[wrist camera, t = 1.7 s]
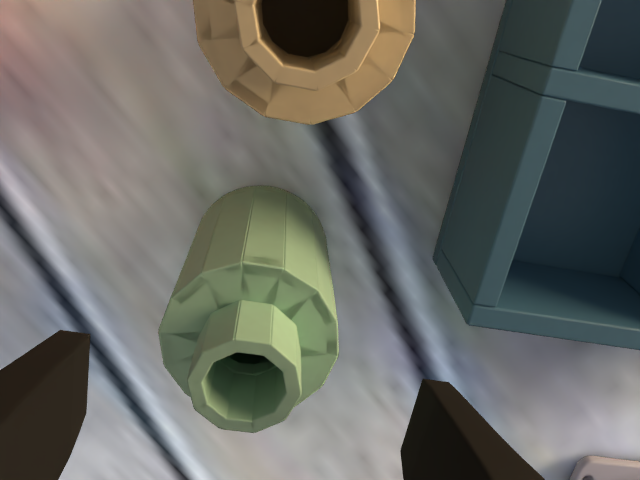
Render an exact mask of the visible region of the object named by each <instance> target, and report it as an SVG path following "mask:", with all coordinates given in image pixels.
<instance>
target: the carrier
mask: <svg viewBox="0 0 640 480" xmlns="http://www.w3.org/2000/svg"><path fill="white" fill-rule="evenodd" d="M433 261H434V263H435V265H437V268H438V270H439V272H440V274H441V276H442V278H443V280H444V282H445V283H446V285H447V287H448V289H449V291H450V293H451V295H452V297H453V299H454V301H455V303H456V304H457V306H458V308H459V310H460V312H461V314H462V316H463V318H464V320H465V322H466V324H468V325H471V326H478V327H485V328H492V329H498V330H505V331H512V332H519V333H526V334H533V335H540V336H546V337H553V338H560V339H567V340H574V341H581V342H588V343H595V344H601V345H608V346H615V347H622V348H629V349H636V350H640V0H506V3H505V7H504V10H503V14H502V17H501V21H500V24H499V28H498V31H497V35H496V38H495V42H494V45H493V49H492V52H491V56H490V59H489V63H488V66H487V70H486V73H485V77H484V80H483V84H482V87H481V90H480V94H479V97H478V101H477V104H476V108H475V111H474V115H473V118H472V122H471V125H470V129H469V132H468V136H467V139H466V143H465V146H464V150H463V153H462V157H461V160H460V164H459V167H458V171H457V174H456V178H455V181H454V185H453V188H452V192H451V195H450V199H449V202H448V206H447V209H446V213H445V216H444V220H443V223H442V227H441V230H440V234H439V237H438V241H437V244H436V248H435V251H434V255H433Z"/></svg>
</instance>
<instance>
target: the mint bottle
mask: <svg viewBox="0 0 640 480" xmlns="http://www.w3.org/2000/svg"><path fill="white" fill-rule="evenodd" d="M158 334H159V340H160V346H161V352H162V358H163V364H164V366H165V368H166V369H167V371H168V372H169V373H170V374H171V376H172V377H173V378H174V380H175V381H176V382H177V384H178V385H179V386H180V387H181V389H182V390H183V391H184V393H185V394H187V395H188V396H190V397H191V400H192V403H193V407H194V409H195V410H196V411H197V412H198V413H200V414H201V415H202V416H204V417H205V418H206V419H208V420H209V421H210V422H212V423H213V424H214V425H215V426H217V427H218V428H221V429H224V430H233V431H241V432H249V433H254V432H255V433H256V432H258V431H261V430H263V429H266V428H268V427H270V426H273V425H275V424H278V423H280V422H283V421H284V420H285V419H286V418H287V417H288V415H289V414H290V412H291V411H292V409H293V407H295V406H297V405H298V404H299V403H301V402H302V401H303V400H305V399H306V398H307V397H309V396H310V395H312V394H313V393H314V392H316V391H317V390H318V389H320V388H321V387H322V386H323V385H324V383H325V381H326V379H327V377H328V375H329V373H330V371H331V369H332V367H333V365H334V364H335V362H336V360H337V358H338V354H339V348H338V321H337V314H336V306H335V299H334V292H333V285H332V278H331V270H330V263H329V256H328V249H327V241H326V236H325V234H324V231H323V228H322V225H321V223H320V221H319V219H318V217H317V216H316V214H315V213H314V212H313V210H312V209H311V208H310V207H309V206H308V205H307V204H306V203H305V202H304V201H303V200H301V199H300V198H298V197H297V196H295V195H293V194H292V193H290V192H287V191H285V190H282V189H279V188H275V187H269V186H250V187H244V188H241V189H237V190H234V191H232V192H230V193H228V194H226V195H224V196H223V197H221V198H220V199H219V200H217V201H216V202H215V203H214V204H213V205H212V206H211V207H210V208H209V209H208V211H207V212H206V213H205V215H204V216H203V217H202V219H201V222H200V224H199V227H198V230H197V232H196V235H195V237H194V240H193V242H192V245H191V247H190V250H189V252H188V255H187V258H186V260H185V263H184V265H183V268H182V270H181V273H180V275H179V278H178V281H177V283H176V286H175V288H174V291H173V293H172V296H171V298H170V301H169V304H168V306H167V309H166V311H165V314H164V317H163V319H162V322H161V324H160V327H159V332H158Z"/></svg>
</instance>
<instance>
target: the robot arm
mask: <svg viewBox="0 0 640 480" xmlns="http://www.w3.org/2000/svg"><path fill="white" fill-rule="evenodd" d="M89 350H90V334H86V333H78V332H71V331H63V330H60V331H58V332H57V333H55V334H54V335H52V336H51V337H49V338H47V339H46V340H44V341H43V342H42V343H40V344H39V345H37V346H36V347H34V348H33V349H31V350H30V351H28V352H27V353H25V354H24V355H22V356H21V357H19V358H18V359H16V360H15V361H13V362H12V363H11V364H9V365H7V366H6V367H4V368H3V369H1V370H0V480H58V479H59V477H60V475H61V473H62V471H63V469H64V467H65V465H66V463H67V461H68V459H69V457H70V455H71V453H72V450H73V447H74V445H75V442H76V440H77V437H78V434H79V432H80V429H81V426H82V423H83V421H84V418H85V415H86V409H87V389H88V370H89ZM401 460H402V470H403V478H404V480H545V479H544V478H543V477H542V476H541V475H540V474H539V473H538V472H536V471H535V470H534V469H533V468H532V467H531V466H530V465H529V464H528V463H527V462H526V461H525V460H524V459H523V458H522V457H521V456H520V455H519V454H517V453H516V452H515V451H514V450H513V449H512V448H511V447H510V446H509V445H508V444H507V442H506V441H505V440H504V439H503V438H502V437H501V436H500V435H499V434H498V433H497V432H496V431H495V430H494V429H493V428H492V427H491V426H490V425H489V424H488V423H487V422H486V421H485V419H484V418H483V417H482V416H481V415H480V414H479V413H478V412H477V411H476V410H475V409H474V408H473V407H472V405H471V404H470V403H469V402H468V401H467V400H466V399H465V398H464V397H463V396H462V395H461V394H460V393H459V392H458V391H457V390H456V389H455V388H454V387H453V386H452V385H451V384H450V383H449V382H443V381H435V380H428V379H422V383H421V386H420V389H419V392H418V396H417V399H416V402H415V405H414V409H413V412H412V415H411V418H410V422H409V425H408V428H407V431H406V435H405V438H404V441H403V444H402V447H401ZM585 476H586V477H585ZM583 477H584V478H583ZM570 480H640V462H639V461H630V460H622V459H614V458H606V457H598V456H586V457H583V458H581V459H580V460H579V461H578V463H577V464H576V467H575V469H574V471H573V473H572V475H571V478H570Z"/></svg>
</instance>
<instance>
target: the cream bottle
mask: <svg viewBox="0 0 640 480" xmlns="http://www.w3.org/2000/svg"><path fill="white" fill-rule="evenodd" d="M193 5H194V14H195V23H196V32H197V41H198V43H199V46H200V48H201V50H202V51H203V53H204V55H205V57H206V58H207V60H208V62H209V63H210V65H211V67H212V69H213V70H214V72H215V74H216V75H217V77H218V79H219V81H220V82H221V84H222V86H223V87H225V89H226V90H227V91H229V92H230V93H231V94H233V95H234V96H236V97H237V98H238V99H240V100H241V101H243V102H244V103H245V104H247V105H248V106H250V107H251V108H252V109H254V110H255V111H257V112H258V113H260V114H261V115H262V116H265V117H269V118H274V119H280V120H285V121H291V122H296V123H302V124H308V125H309V124H316V123H320V122H323V121H327V120H331V119H334V118H338V117H341V116H345V115H349V114H352V113H355V111H358V110H359V109H361V108H362V107H363V106H364V105H365V104H366V103H368V102H369V101H370V100H371V99H372V98H373V97H375V96H376V95H377V94H378V93H379V92H380V91H382V90H383V89H384V88H385V87H386V86H387V85H389V84H390V83H391V82H392V80H393V79H394V78H395V75H396V73H397V71H398V69H399V67H400V65H401V63H402V60H403V58H404V56H405V54H406V52H407V50H408V48H409V46H410V43H411V41H412V39H413V37H414V33H415V5H416V0H193Z"/></svg>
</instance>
